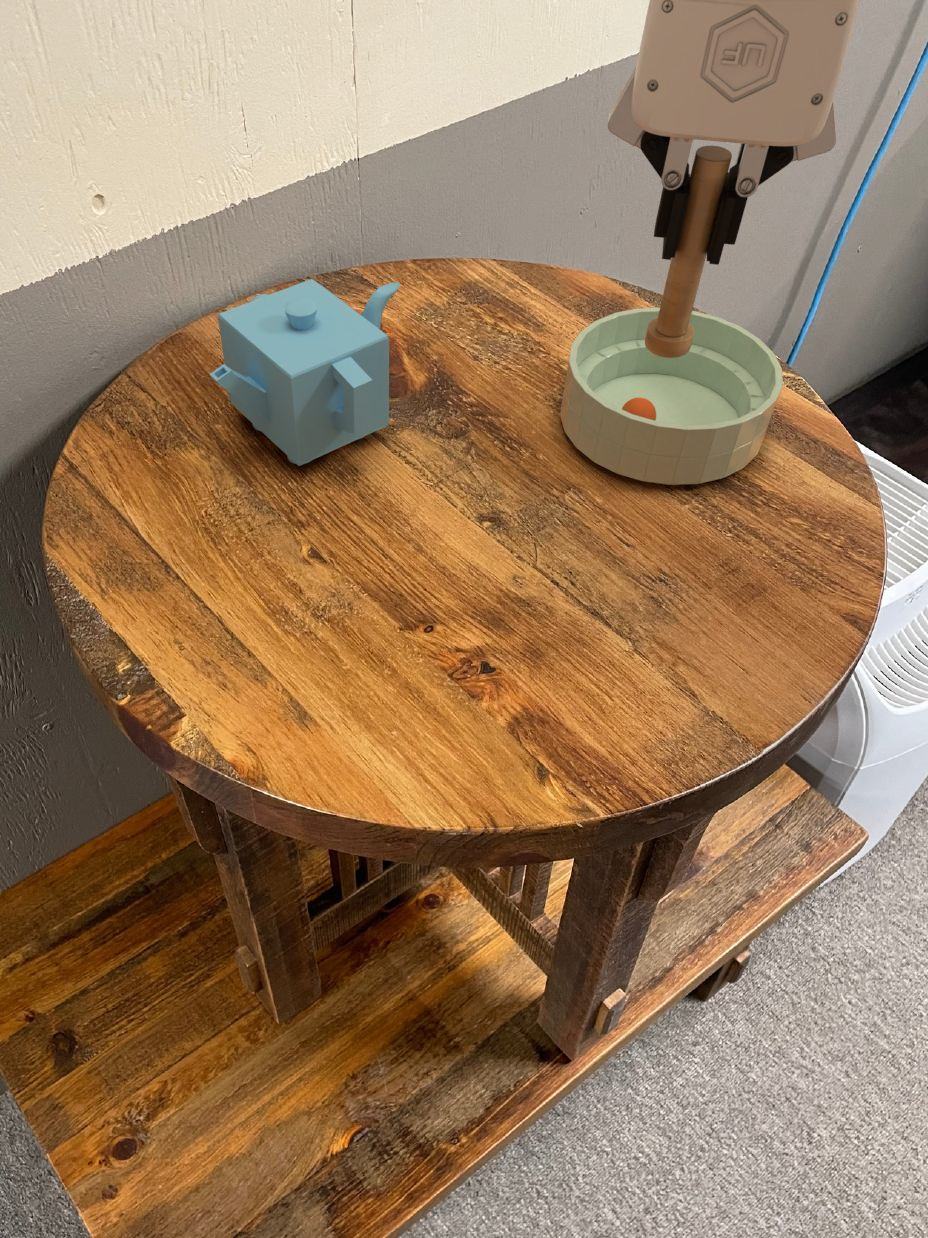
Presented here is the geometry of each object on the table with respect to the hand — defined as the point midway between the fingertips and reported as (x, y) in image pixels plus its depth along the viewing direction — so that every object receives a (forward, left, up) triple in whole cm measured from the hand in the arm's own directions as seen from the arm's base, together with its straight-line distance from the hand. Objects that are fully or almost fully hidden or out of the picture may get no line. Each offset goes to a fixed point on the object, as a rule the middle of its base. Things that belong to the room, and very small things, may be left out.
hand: (691, 248), depth 60 cm
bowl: (-2, -14, -23) cm, 27 cm away
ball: (0, -12, -20) cm, 24 cm away
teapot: (+27, -8, -23) cm, 36 cm away
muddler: (0, 0, -7) cm, 7 cm away
